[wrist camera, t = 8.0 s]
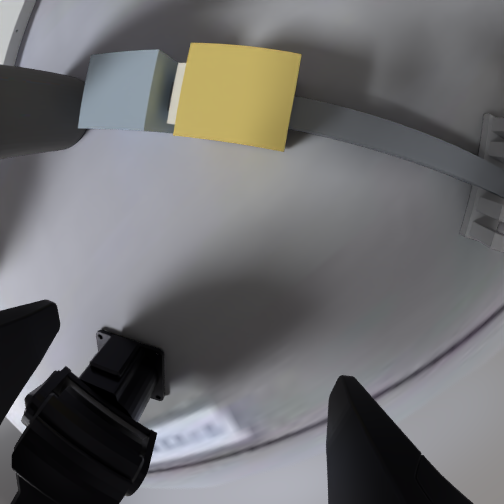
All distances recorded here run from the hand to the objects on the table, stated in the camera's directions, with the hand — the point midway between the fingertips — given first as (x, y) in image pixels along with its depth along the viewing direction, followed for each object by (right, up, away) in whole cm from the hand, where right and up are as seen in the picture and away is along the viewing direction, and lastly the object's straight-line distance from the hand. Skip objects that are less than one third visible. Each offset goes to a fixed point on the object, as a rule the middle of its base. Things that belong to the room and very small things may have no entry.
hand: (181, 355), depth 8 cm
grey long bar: (+7, +11, +8) cm, 15 cm away
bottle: (-12, +13, +10) cm, 21 cm away
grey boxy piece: (+19, +8, +8) cm, 22 cm away
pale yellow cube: (+2, +12, +9) cm, 14 cm away
